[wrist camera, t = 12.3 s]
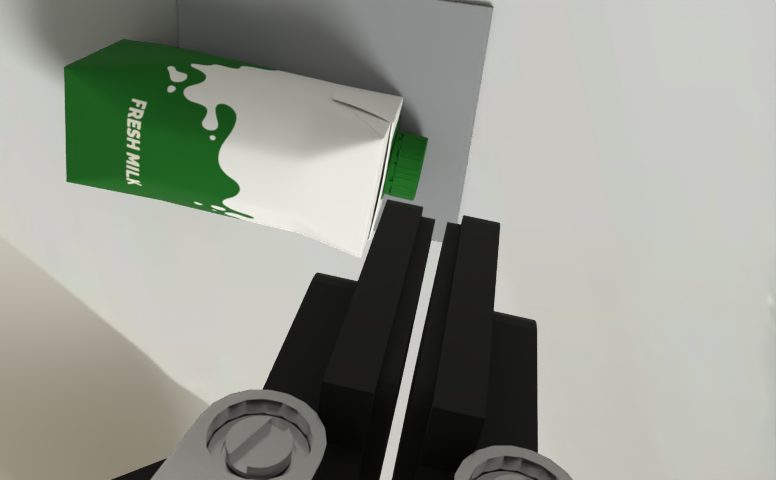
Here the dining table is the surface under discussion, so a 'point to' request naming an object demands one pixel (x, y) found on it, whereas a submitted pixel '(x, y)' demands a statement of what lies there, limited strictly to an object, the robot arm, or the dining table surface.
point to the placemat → (369, 66)
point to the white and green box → (238, 140)
